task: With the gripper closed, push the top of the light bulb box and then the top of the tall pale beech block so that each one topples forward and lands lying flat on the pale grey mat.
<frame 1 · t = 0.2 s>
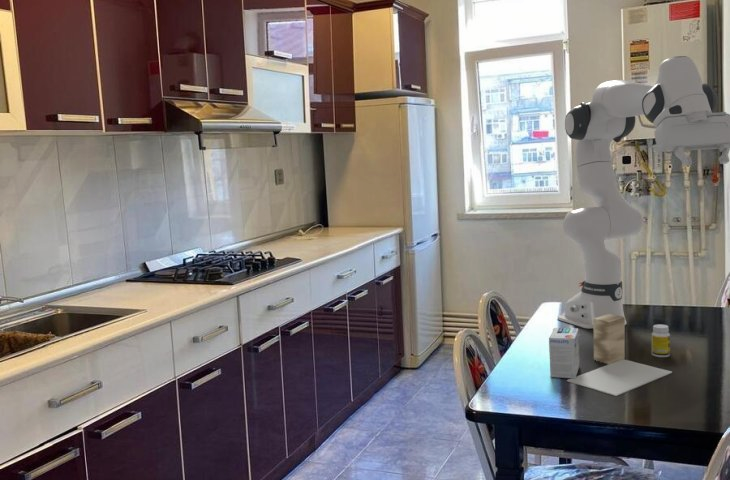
hand: (706, 164, 163), 54 cm above the table, tool tilted 30°, fingers open, 8 cm apart
light bulb box: (565, 372, 181), on the table, touching mat
supplement bottle: (660, 355, 191), on the table
mat: (619, 376, 176), on the table
beech block: (609, 359, 190), on the table
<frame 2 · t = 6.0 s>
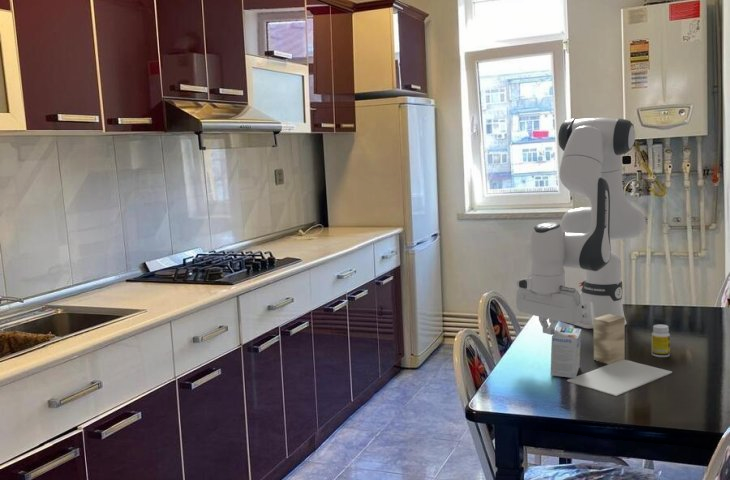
hand: (548, 333, 184), 10 cm above the table, tool pointing down, fingers closed
light bulb box: (565, 371, 181), on the table, touching gripper, mat
everything else where it was.
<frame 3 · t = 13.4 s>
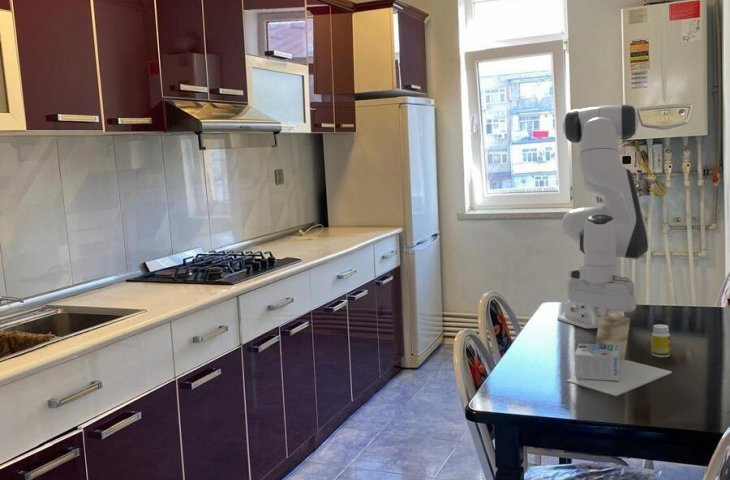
hand: (600, 322, 190), 10 cm above the table, tool pointing down, fingers closed
light bulb box: (576, 360, 180), point 4 cm above the table, touching mat
beech block: (609, 358, 190), on the table, tilted 9°
everything else where it was.
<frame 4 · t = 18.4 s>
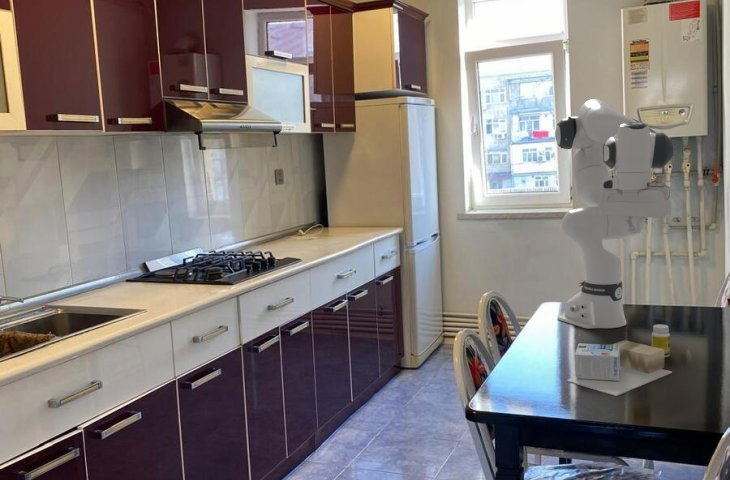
hand: (633, 232, 187), 35 cm above the table, tool pointing down, fingers closed
beech block: (616, 351, 187), point 3 cm above the table, tilted 90°, touching mat
everything else where it was.
at the end: light bulb box tilted 89°; light bulb box inside the target area (5.7 cm from its centre), point 3.5 cm above the table; beech block tilted 90° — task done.
